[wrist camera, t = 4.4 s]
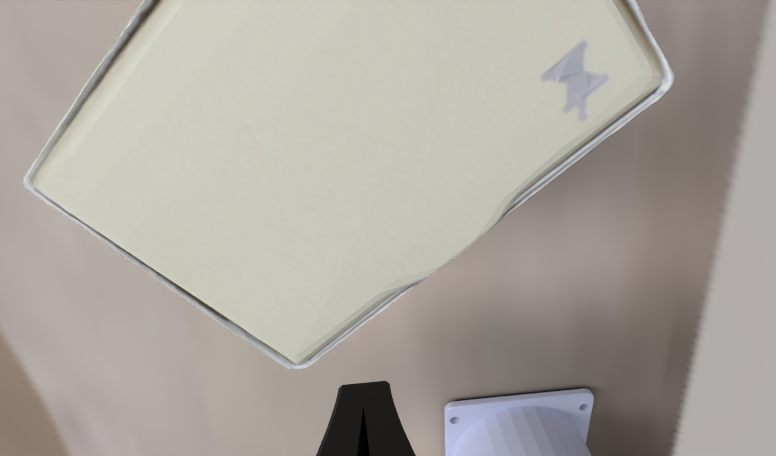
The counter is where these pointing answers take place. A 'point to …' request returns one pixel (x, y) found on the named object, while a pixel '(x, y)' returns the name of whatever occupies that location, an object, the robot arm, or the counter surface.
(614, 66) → the skincare box
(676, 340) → the counter surface
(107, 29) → the counter surface
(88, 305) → the counter surface
